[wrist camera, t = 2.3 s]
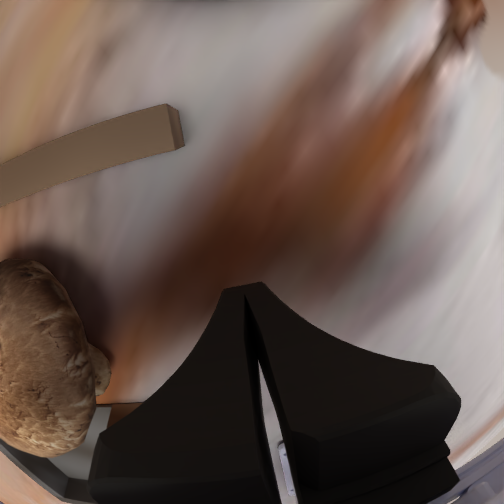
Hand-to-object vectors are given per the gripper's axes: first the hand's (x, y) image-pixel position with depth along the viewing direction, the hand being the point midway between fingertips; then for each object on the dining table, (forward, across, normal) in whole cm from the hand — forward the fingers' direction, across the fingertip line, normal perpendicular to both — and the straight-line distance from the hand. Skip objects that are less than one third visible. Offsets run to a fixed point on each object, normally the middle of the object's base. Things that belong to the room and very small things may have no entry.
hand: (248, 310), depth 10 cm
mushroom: (+2, +9, 0) cm, 9 cm away
